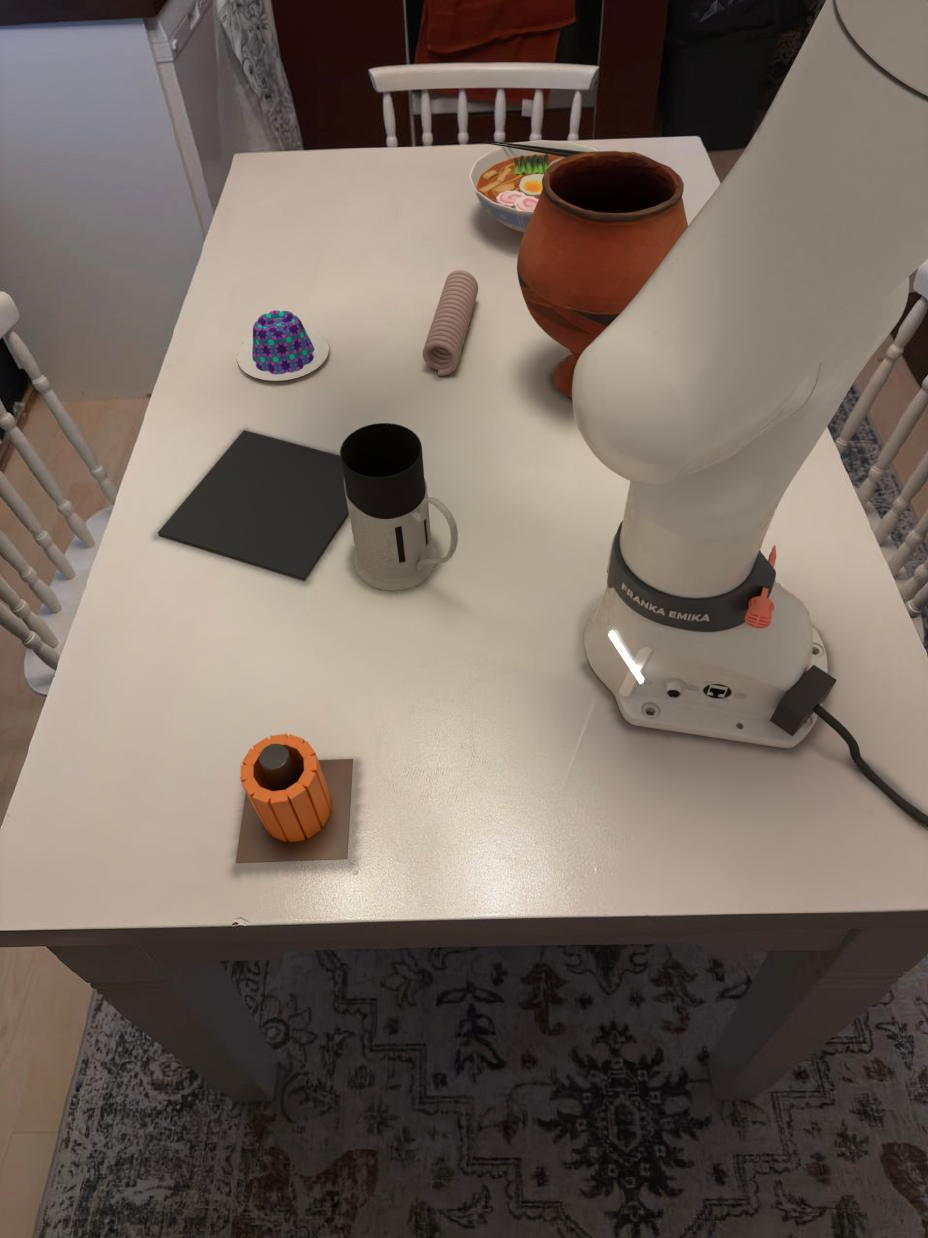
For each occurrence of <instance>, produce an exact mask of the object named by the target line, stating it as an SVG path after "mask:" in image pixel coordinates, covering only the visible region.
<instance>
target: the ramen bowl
mask: <svg viewBox="0 0 928 1238" xmlns="http://www.w3.org/2000/svg"><path fill="white" fill-rule="evenodd" d="M481 143H482V144H486V145H491V146H497V147H498V148H495V149H492V150H490V151H488V152H487V153H485V154H484V155H483V156H481V157H480V158H478V159H477V160H475V161H474V162H473V164H472V167H471V169H470V171H469V174H468V179H469V181H470V184H471V186H472V188H473V191H474V193H475V195H476V197H477V199H478V201H479V203H480V204H481V206H482V207H483V208H484V210H485V211H486V212H487V213H488V214H489V215H490V216H491V217H492V218H493V219H495V220H496V221H498V222H499V223H500V224H502V225H503V226H505V227H507V228H508V229H511V230H514V231H517V232H520V233H523V234H524V233H525V230H526V228H527V225H528V223H529V221H530V218H531V216H532V214H533V212H534V209H535V207H536V205H537V203H538V200H539V197H540V194H541V192H542V189H543V187H542V178H543V176H544V173H545V171H546V169H547V168H548V167H549V166H551V165H552V164H553V163H555V162H557V161H559V160H561V159H563V158H565V157H569V156H572V155H576V154H579V153H583V152H593V151H600V150H599V149H597V148H594V147H591V146H587V145H583V144H579V143H576V142H572V141H564V140H563V141H561V140H546V139H538V140H530V141H519V142H513V143H512V142H501V141H494V140H486V139H485V140H484V139H483V141H482V142H481Z"/></svg>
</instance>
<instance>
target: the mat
mask: <svg viewBox="0 0 928 1238" xmlns="http://www.w3.org/2000/svg"><path fill="white" fill-rule="evenodd" d="M348 517H349V511H348V506H347V501H346V495H345V488H344V474H343V469H342V463H341V458H340V454H335V453H332V452H328V451H325V450H324V451H323V450H320V449H316V448H313V447H309V446H305V445H301V444H298V443H295V442H294V443H293V442H291V441H286V440H283V439H280V438H275V437H272V436H268V435H264V434H260V433H257V432H254V431H253V432H252V431H249V430H245V429H244V430H242V432H241V433H240V434H239V435H238V437H236V439H235V440H234V441H233V442H232V443H231V445H230V446H229V447H228V448H227V450H226V451H225V452H224V453H223V454H222V455H221V457H220V458H218V460H217V461H216V462H215V464H214V465H213V466H212V467H211V468H210V470H209V471H208V472H207V473H206V475H205V476H204V477H203V478H202V479H201V481H199V483H198V484H197V485H196V486H195V488H194V489H193V490H192V491H191V492H190V493H189V495H188V496H186V498H185V500H184V501H182V503H181V504H180V505H179V506H178V508H177V509H175V511H174V513H172V515H171V516H170V517H169V518H168V519H167V521H166V522H165V523H164V524H163V525H162V527H161V528H160V529H159V531H158V532H157V534H158V536H160V537H162V538H166V539H169V540H173V541H175V542H178V543H182V544H184V545H188V546H191V547H194V548H198V549H201V550H204V551H207V552H210V553H213V554H214V553H215V554H217V555H220V556H224V557H227V558H230V559H233V560H236V561H240V562H243V563H246V564H249V565H252V566H256V567H259V568H262V569H265V570H269V571H272V572H275V573H278V574H282V575H285V576H288V577H291V578H294V579H297V580H301V581H303V582H305V581H306V579H307V578H308V576H309V575H310V573H311V572H312V570H313V569H314V567H315V566H316V564H317V563H318V561H319V560H320V558H321V557H322V555H323V554H324V552H325V551H326V549H327V548H328V546H329V545H330V543H331V542H332V540H333V539H334V537H335V536H336V534H337V533H338V531H339V530H340V528H341V527H342V525H343V524H344V523H345V521H346V519H347V518H348Z"/></svg>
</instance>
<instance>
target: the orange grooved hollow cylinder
mask: <svg viewBox="0 0 928 1238" xmlns="http://www.w3.org/2000/svg"><path fill="white" fill-rule="evenodd" d="M271 744H281V745H283V746H285V747H286V748H287V750H288V752H289V754H290V757H291V760H292V762H293V765H294V767H295V770H296V772H297V775H298V777H299V780H298V782H296V783H295V784H293V785H292V786H290V787H289V788H287V789H286V790H279V791H273V790H272V787H271V785H270V783H269V781H268V779H267V777H266V775H265V772H264V770H263V768H262V766H261V764H260V761H259V757H260V753H261V752H262V750H263V749H264V748H265V747H267V746H268V745H271ZM318 760H319V758H318V756H317V753H316V751H315V749H314V748H313V747H312V746H311V744H310V743H309V742H308V740H305V738H302V737H300V736H297V735H294V734H291V733H289V734H288V733H280V734H275V735H274V734H273V735H270V736H269V737H268V736H266V737H265V738H263V739H261V740H260V741H259V742H257V743H255V744H254V745H252V748H249V749H248V752H247V753H246V755H245V756H244V758H243V760H242V761H241V765H240V782H241V783H240V784H241V786H242V788H243V789H244V791H245V793H247V795H248V797H249V799H250V801H251V803H252V805H253V807H254V808H255V810H256V812H257V814H258V816H259V818H260V820H261V822H262V824H263V825H264V827H265V828H266V830H267V831H268V833H269V834H270V835H272V837H274V838H277V839H279V840H282V841H284V842H287V840H289V842H295V841H302V840H305V836H306V837H307V839H309V838H310V837H312V836H313V835H315V834H316V833H317V832H319V831H320V830H321V827H324V825H325V824H326V822H327V820H328V818H329V816H330V811H331V796H330V793H329V790H328V787H327V785H326V782H325V779H324V776H323V773H322V770H321V767H320V764H319V761H318ZM320 826H321V827H320Z"/></svg>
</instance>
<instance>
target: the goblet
mask: <svg viewBox="0 0 928 1238" xmlns="http://www.w3.org/2000/svg"><path fill="white" fill-rule="evenodd" d="M542 187H543V189H542V192H541V194H540V197H539V200H538V203H537V205H536V207H535V209H534V212H533V214H532V216H531V218H530V221H529V223H528V225H527V228H526V230H525V233H523V236H522V238H521V242H520V244H519V250H518V254H517V262H516V273H517V279H518V284H519V287H520V291H521V295H522V297H523V300H524V302H525V305H526V308H527V310H528V312H529V314H530V316H531V317H532V318H533V320H534V321H535V323H536V324H537V325H538V326H539V328H540V329H541V330H543V332H544V333H545V334H546V335H547V336H548V337H550V339H552V340H554V341H555V342H556V343H558V344H559V345H560V346H562V347H564V348H566V350H568V352H569V353H570V354H569V355H568V356H566V357H565V358H564V359H563V360H562V361H561V362H560V363H559V364H558V365H557V367H556V368H555V370H554V373H553V381H554V384H555V386H556V388H557V389H558V391H560V392H562V393H563V394H564V395H566V396H568V397H569V398H571V399H572V384H573V375H574V370H575V367H576V364H577V361H578V359H579V357H580V356H581V354H582V353H583V351H584V350H585V349H586V348H587V347H588V346H589V345H590V344H591V343H592V342H593V341H594V340H595V339H596V338H597V337H598V336H599V335H600V334H601V333H602V332H603V331H604V330H605V329H606V328H607V327H608V326H609V325H610V324H611V323H612V322H613V321H614V320H615V319H616V318H617V317H618V316H619V314H620V313H621V312H622V311H623V310H624V309H625V308H626V307H627V306H628V304H629V303H630V302H631V301H632V300H633V298H634V297H635V296H636V295H637V294H638V292H639V291H640V290H641V288H642V287H643V286H644V285H645V283H646V282H647V281H648V279H649V278H650V277H651V276H652V274H653V273H654V272H655V270H656V269H657V268H658V266H659V265H660V263H661V262H662V261H663V259H664V258H665V257H666V255H667V254H668V252H669V251H670V250H671V248H672V247H673V246H674V244H675V243H676V242H677V240H678V239H679V238H680V236H681V235H682V234H683V232H684V231H685V230H686V228H687V227H688V226H689V224H688V219H687V214H686V209H685V203H684V200H683V199H684V198H683V194H684V191H685V184H684V181H683V179H682V176H680V174H679V173H677V172H676V171H675V170H674V169H673V168H672V167H671V166H669V165H666V164H664V163H661V162H659V161H657V160H655V159H653V158H651V157H649V156H646V155H644V154H642V153H639V152H636V151H618V150H603V151H602V150H601V151H600V150H599V151H593V152H583V153H579V154H576V155H572V156H569V157H565V158H563V159H561V160H559V161H557V162H555V163H553V164H552V165H551V166H549V167H548V168H547V169H546V171H545V173H544V176H543V178H542Z"/></svg>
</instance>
